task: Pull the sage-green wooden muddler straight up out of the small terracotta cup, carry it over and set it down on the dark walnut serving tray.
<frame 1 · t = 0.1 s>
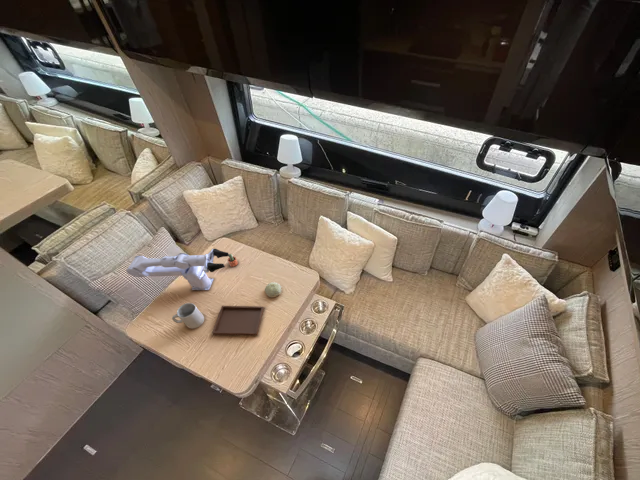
hand: (226, 259, 140), 22 cm above the table, tool horizontal, fingers open, 7 cm apart
muddler: (233, 263, 166), resting on cup
sea urchin shell: (274, 291, 155), on the table
tray: (239, 321, 142), on the table
cup: (233, 263, 167), on the table
mug: (192, 322, 141), on the table
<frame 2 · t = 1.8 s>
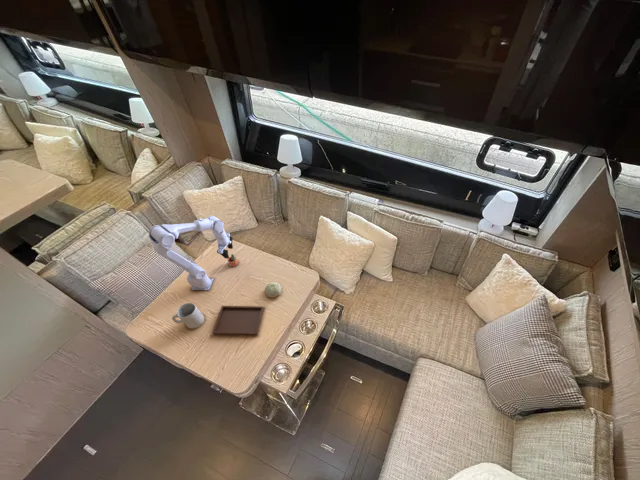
hand: (228, 253, 160), 9 cm above the table, tool pointing down, fingers open, 7 cm apart
muddler: (233, 263, 166), resting on cup, tilted 14°
everything else where it was.
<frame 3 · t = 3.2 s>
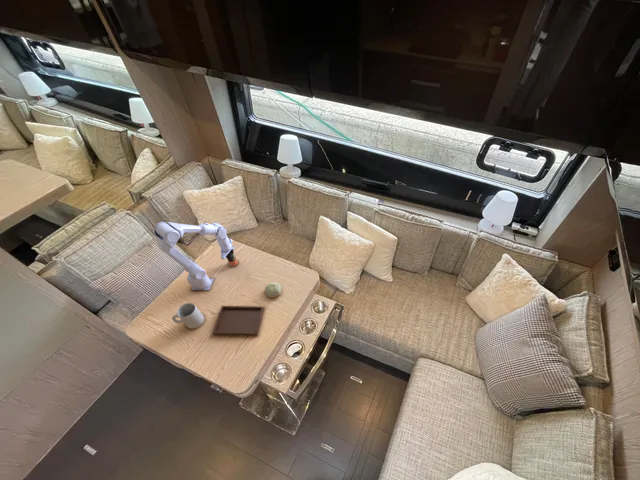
hand: (231, 258, 163), 5 cm above the table, tool pointing down, fingers closed on muddler, 2 cm apart
muddler: (233, 263, 166), resting on cup, tilted 14°, touching gripper
everything else where it was.
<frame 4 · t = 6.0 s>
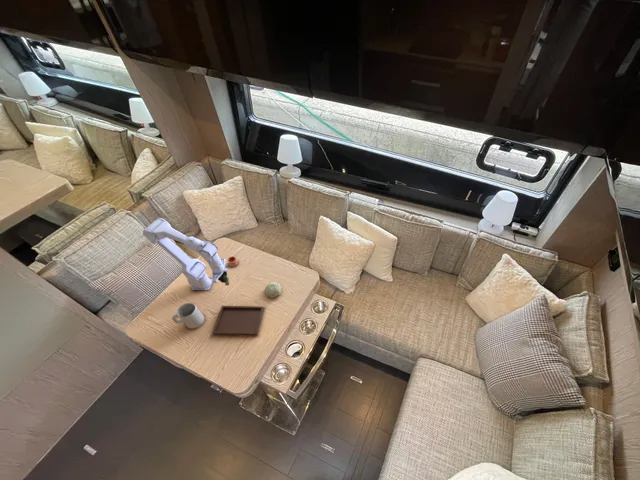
hand: (224, 280, 146), 10 cm above the table, tool pointing down, fingers closed on muddler
muddler: (227, 284, 149), point 6 cm above the table, tilted 14°, touching gripper
everything else where it was.
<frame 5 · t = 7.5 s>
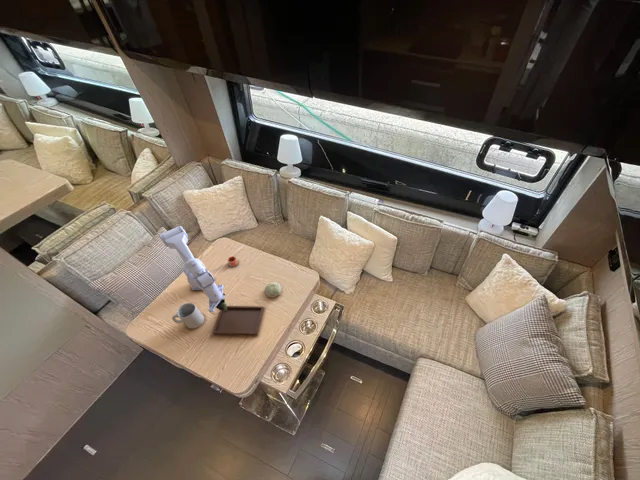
hand: (222, 307, 137), 9 cm above the table, tool pointing down, fingers closed on muddler, 2 cm apart
muddler: (225, 311, 140), point 4 cm above the table, tilted 14°, touching gripper
everything else where it was.
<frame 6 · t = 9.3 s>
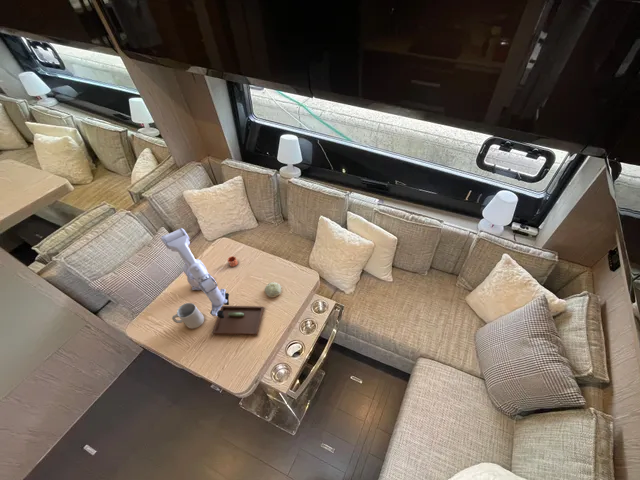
hand: (224, 310, 140), 5 cm above the table, tool pointing down, fingers open, 7 cm apart
muddler: (228, 314, 143), point 2 cm above the table, tilted 90°, touching tray
everything else where it was.
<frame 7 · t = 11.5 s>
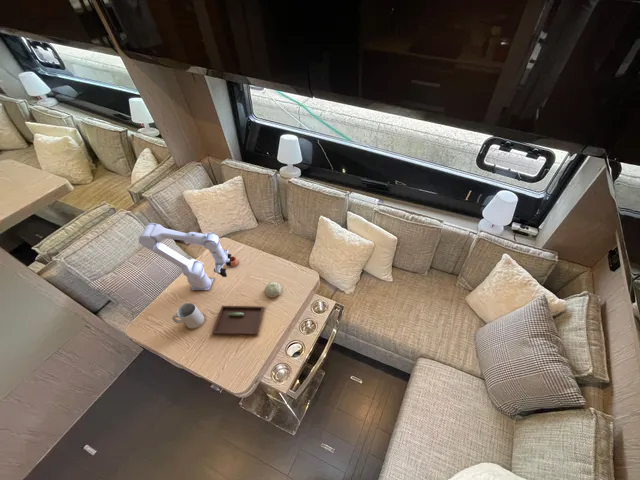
hand: (227, 270, 150), 10 cm above the table, tool pointing down, fingers open, 7 cm apart
nothing on the table moved.
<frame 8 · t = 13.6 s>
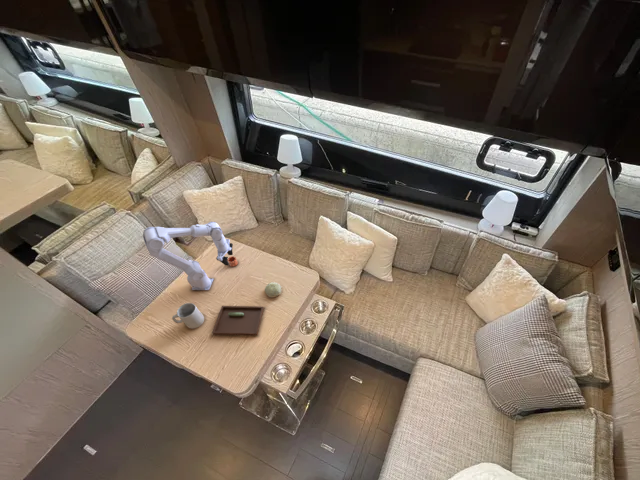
hand: (228, 259, 155), 10 cm above the table, tool pointing down, fingers open, 7 cm apart
nothing on the table moved.
at the end: muddler inside the target area in the tray (7.0 cm from its centre), point 1.6 cm above the tray's base; the gripper is holding nothing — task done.
